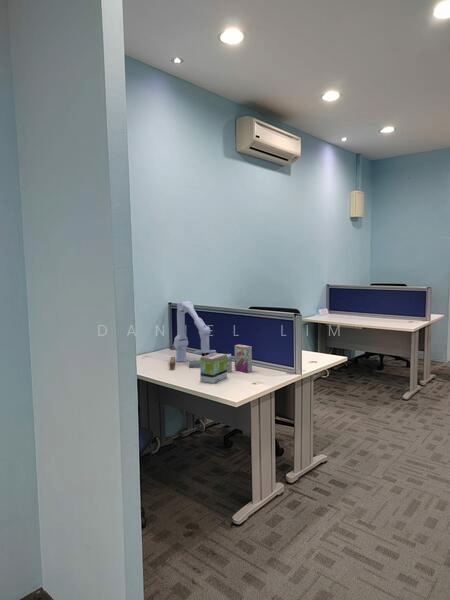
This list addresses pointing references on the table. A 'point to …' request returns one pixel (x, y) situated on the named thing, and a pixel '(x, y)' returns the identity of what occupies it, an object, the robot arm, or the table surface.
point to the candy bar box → (243, 358)
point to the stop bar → (172, 363)
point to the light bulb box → (229, 363)
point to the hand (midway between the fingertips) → (205, 363)
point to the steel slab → (194, 364)
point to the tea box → (213, 367)
